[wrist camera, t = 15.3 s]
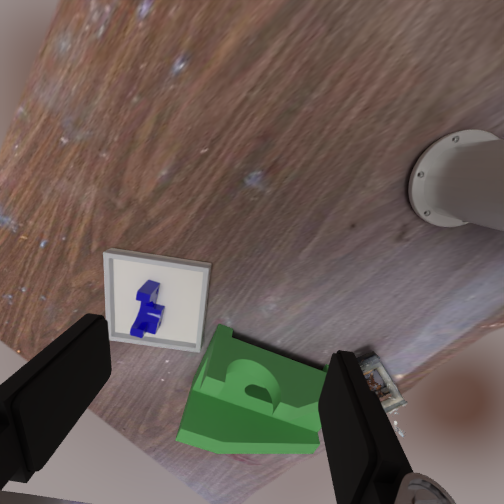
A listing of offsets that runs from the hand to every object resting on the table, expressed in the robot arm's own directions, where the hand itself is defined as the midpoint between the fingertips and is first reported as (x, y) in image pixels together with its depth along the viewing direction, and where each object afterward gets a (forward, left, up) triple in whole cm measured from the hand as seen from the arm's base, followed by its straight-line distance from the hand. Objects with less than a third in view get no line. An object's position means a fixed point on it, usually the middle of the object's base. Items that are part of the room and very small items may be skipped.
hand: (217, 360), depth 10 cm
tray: (+12, +16, -29) cm, 36 cm away
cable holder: (+13, +16, -28) cm, 35 cm away
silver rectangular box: (-27, +25, -30) cm, 47 cm away
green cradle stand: (-8, +29, -30) cm, 42 cm away
